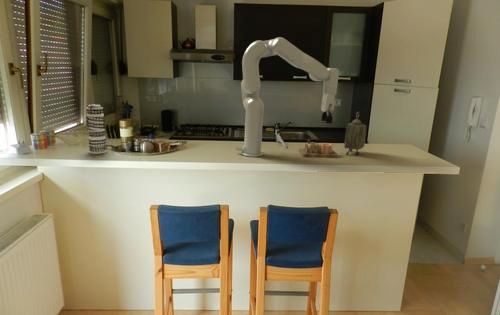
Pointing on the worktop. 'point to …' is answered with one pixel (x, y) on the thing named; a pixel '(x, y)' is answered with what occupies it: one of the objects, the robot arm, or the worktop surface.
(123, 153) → the worktop surface
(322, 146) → the terracotta gear
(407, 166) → the worktop surface
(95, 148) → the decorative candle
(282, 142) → the caliper
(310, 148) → the gear board
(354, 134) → the tabletop clock
